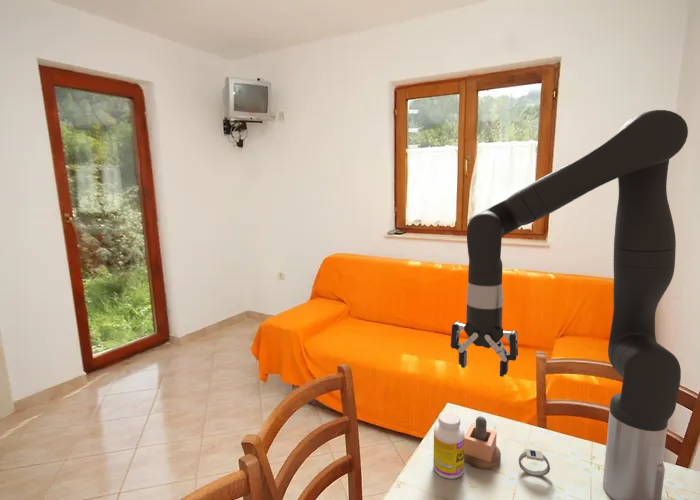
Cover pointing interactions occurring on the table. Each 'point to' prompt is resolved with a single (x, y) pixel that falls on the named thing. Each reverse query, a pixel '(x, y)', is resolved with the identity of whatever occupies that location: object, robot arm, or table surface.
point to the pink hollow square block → (480, 444)
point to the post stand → (481, 435)
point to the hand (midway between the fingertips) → (482, 370)
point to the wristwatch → (535, 456)
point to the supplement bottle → (448, 446)
